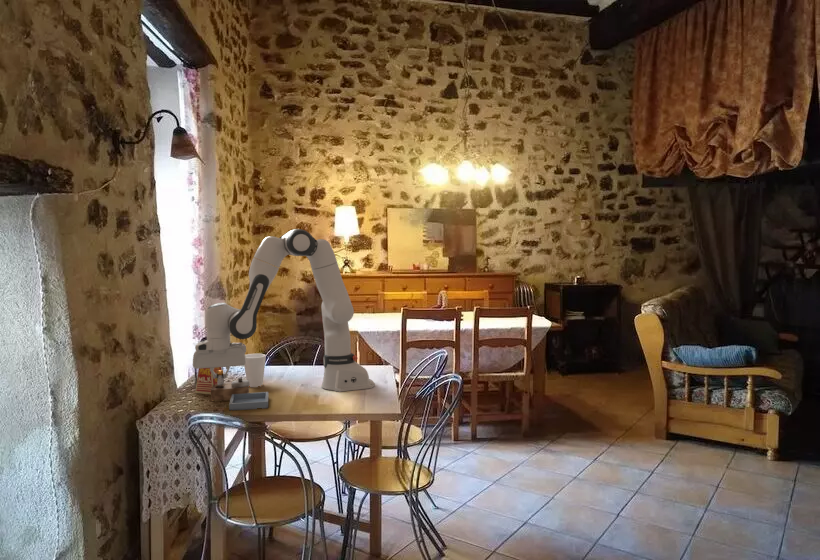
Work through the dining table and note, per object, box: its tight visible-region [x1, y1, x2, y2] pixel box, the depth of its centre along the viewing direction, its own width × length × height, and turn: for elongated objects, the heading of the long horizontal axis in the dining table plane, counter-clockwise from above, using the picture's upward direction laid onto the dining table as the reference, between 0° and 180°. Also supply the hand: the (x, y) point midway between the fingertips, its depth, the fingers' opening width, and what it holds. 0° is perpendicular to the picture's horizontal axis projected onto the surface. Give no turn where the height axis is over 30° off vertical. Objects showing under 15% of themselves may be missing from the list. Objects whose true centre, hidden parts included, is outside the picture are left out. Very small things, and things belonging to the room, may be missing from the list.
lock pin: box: [217, 369, 225, 388], centre depth 240 cm, size 2×2×9 cm
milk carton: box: [194, 367, 223, 395], centre depth 250 cm, size 9×9×20 cm
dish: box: [228, 391, 270, 412], centre depth 231 cm, size 14×14×2 cm
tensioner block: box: [210, 377, 250, 402], centre depth 241 cm, size 14×8×8 cm, turn 102°
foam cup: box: [243, 353, 267, 388], centre depth 259 cm, size 10×9×13 cm
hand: (220, 377), depth 240 cm, fingers closed on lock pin, 2 cm apart
